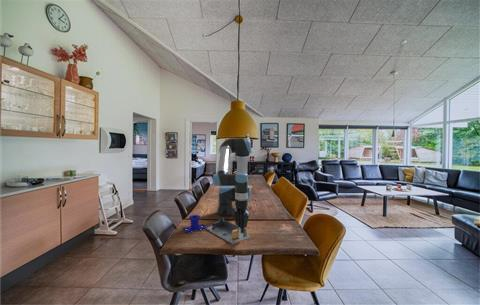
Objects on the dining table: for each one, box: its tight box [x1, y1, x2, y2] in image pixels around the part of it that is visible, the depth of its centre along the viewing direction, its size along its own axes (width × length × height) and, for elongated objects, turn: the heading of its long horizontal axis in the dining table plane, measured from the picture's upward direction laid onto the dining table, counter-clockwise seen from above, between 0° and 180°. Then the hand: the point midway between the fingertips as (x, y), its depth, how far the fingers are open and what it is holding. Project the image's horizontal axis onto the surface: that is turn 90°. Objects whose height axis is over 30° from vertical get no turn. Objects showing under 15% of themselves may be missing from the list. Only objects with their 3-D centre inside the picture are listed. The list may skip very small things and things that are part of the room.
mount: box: [181, 214, 208, 233], centre depth 145 cm, size 15×8×9 cm, turn 121°
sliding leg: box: [232, 226, 248, 239], centre depth 132 cm, size 3×11×7 cm, turn 132°
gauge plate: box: [205, 216, 250, 245], centre depth 139 cm, size 28×14×7 cm, turn 42°
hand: (240, 237), depth 127 cm, fingers closed
